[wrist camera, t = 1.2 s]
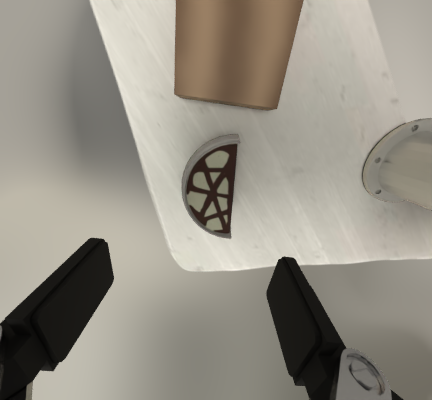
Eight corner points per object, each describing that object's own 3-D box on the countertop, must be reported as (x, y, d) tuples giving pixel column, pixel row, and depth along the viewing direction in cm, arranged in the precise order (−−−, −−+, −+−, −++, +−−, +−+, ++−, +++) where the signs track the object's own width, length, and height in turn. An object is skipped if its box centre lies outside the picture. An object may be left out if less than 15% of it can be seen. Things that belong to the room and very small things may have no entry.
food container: (189, 128, 25) (174, 133, 16) (232, 129, 25) (240, 136, 16) (191, 204, 30) (181, 240, 21) (226, 205, 30) (230, 242, 21)
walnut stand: (298, -27, 18) (318, -63, 15) (267, 110, 24) (276, 108, 20) (185, -48, 18) (177, -91, 14) (181, 97, 23) (174, 94, 20)
